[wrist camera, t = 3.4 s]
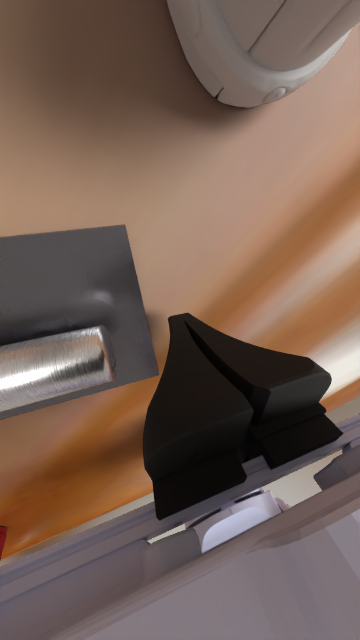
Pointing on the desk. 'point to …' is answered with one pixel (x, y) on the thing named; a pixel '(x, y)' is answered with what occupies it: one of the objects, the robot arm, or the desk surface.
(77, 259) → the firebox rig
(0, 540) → the plastic cup
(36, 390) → the tube
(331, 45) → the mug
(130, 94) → the desk surface
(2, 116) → the desk surface
